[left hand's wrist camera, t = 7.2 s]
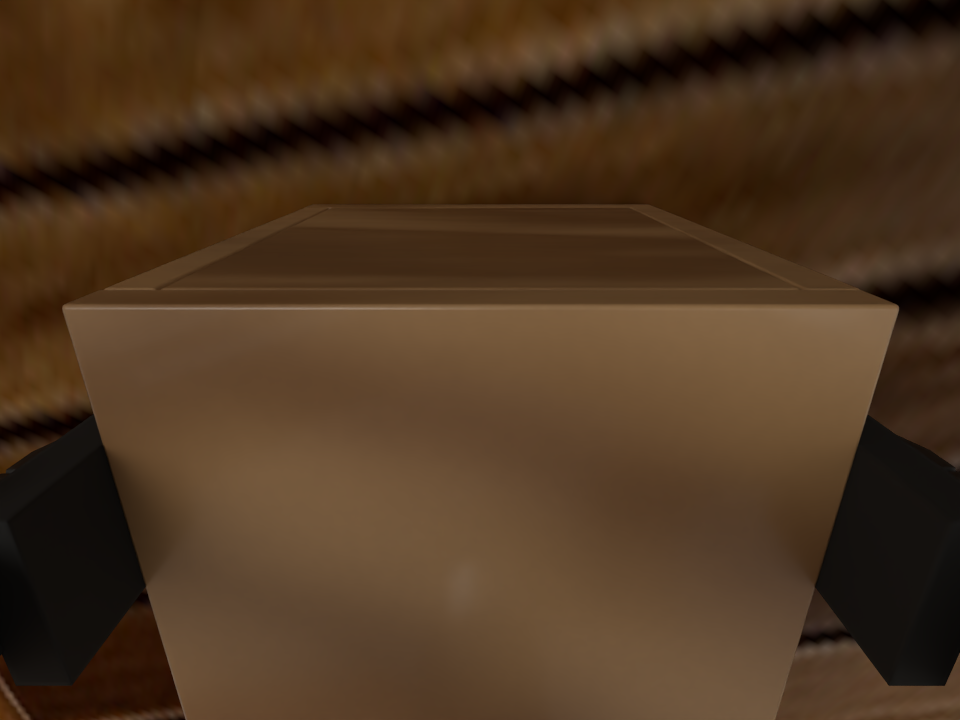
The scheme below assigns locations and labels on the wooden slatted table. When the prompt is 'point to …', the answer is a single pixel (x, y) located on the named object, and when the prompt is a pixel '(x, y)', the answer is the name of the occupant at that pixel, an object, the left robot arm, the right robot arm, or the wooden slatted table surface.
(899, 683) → the left robot arm
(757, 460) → the cabinet
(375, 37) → the wooden slatted table surface
